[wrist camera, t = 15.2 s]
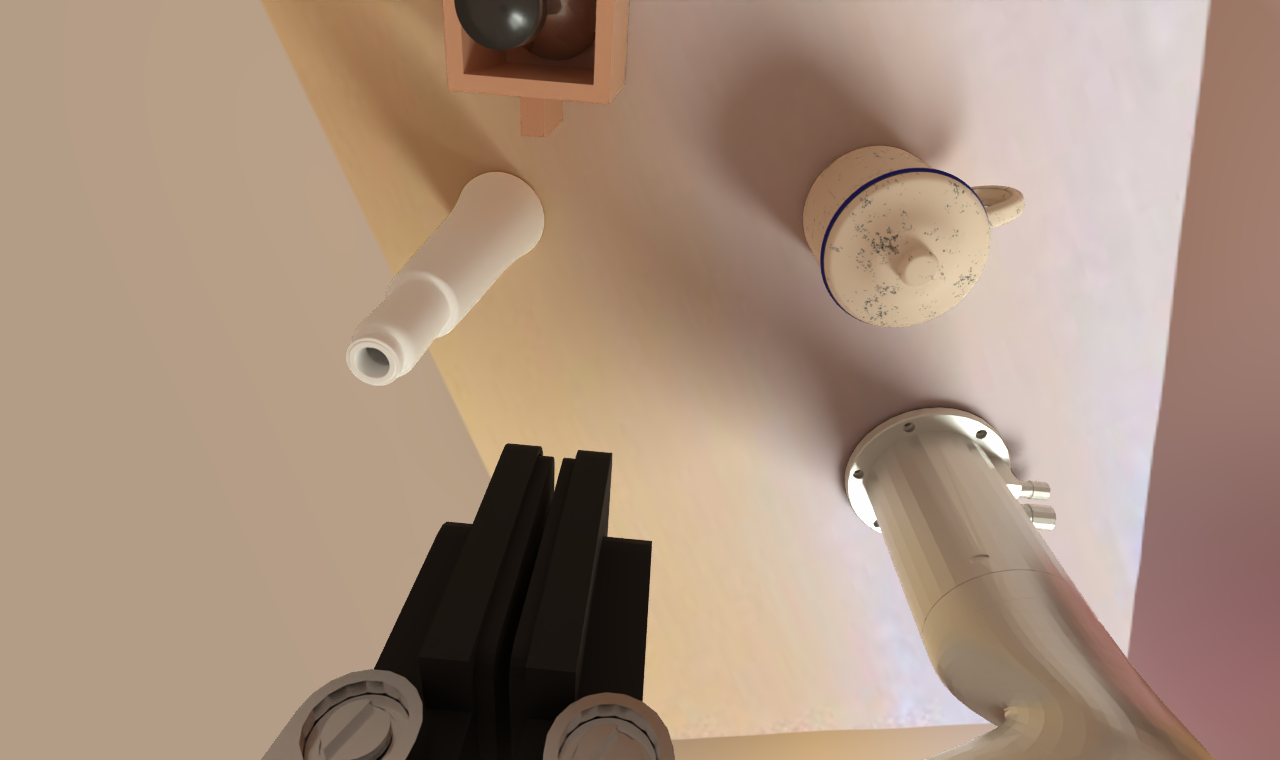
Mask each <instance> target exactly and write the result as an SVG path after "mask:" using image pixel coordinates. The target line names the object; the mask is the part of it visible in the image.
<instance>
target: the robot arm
mask: <svg viewBox="0 0 1280 760" xmlns="http://www.w3.org/2000/svg"><path fill="white" fill-rule="evenodd" d="M611 470H612V453H605V452H594V451H584V450H578V452H577V455H576V459H571V458H564V459H563V461H562V465H561V469H560V473H559V476H558V480H557V484H556V487H555V491H554V457H550V456H543V451H542V447H541V446H530V445H519V444H506V445H505V447H504V449H503V451H502V454H501V456H500V459H499V461H498V464H497V466H496V468H495V471H494V473H493V476H492V478H491V481H490V483H489V486H488V488H487V490H486V493H485V495H484V498H483V500H482V503H481V505H480V507H479V510H478V512H477V515H476V517H475V520H474V522H473V524H466V523H455V522H446V523H445V524H443V525H442V527H441V529H440V530H439V532H438V534H437V536H436V538H435V540H434V543H433V545H432V547H431V549H430V551H429V553H428V555H427V558H426V559H425V562H424V564H423V566H422V568H421V570H420V572H419V574H418V577H417V579H416V581H415V583H414V585H413V587H412V589H411V591H410V594H409V596H408V598H407V600H406V602H405V604H404V606H403V608H402V610H401V613H400V615H399V617H398V619H397V621H396V623H395V626H394V628H393V630H392V632H391V634H390V636H389V638H388V640H387V642H386V645H385V647H384V649H383V651H382V653H381V655H380V657H379V660H378V662H377V664H376V666H375V668H374V670H373V669H371V670H364V671H358V672H352V673H349V674H346V675H344V676H342V677H339V678H337V679H334V680H332V681H330V682H329V683H327V684H326V685H324V686H323V687H321V688H320V689H319V690H317V691H316V692H314V693H313V694H312V695H311V696H310V697H309V698H308V699H307V700H306V701H305V702H304V703H303V704H302V706H301V707H300V708H299V709H298V710H297V711H296V712H295V714H294V715H293V717H292V718H291V719H290V721H289V722H288V724H287V725H286V726H285V728H284V729H283V730H282V732H281V733H280V734H279V736H278V737H277V739H276V740H275V741H274V743H273V744H272V745H271V747H270V748H269V750H268V751H267V752H266V754H265V755H264V757H263V758H262V759H261V760H675V756H674V749H673V745H672V742H671V738H670V735H669V732H668V729H667V727H666V726H665V724H664V723H663V721H662V720H661V718H660V717H659V716H658V714H657V713H656V712H655V711H654V710H652V709H651V708H650V707H649V706H647V705H646V704H645V703H644V702H642V701H643V684H644V667H645V651H646V634H647V617H648V601H649V584H650V568H651V551H652V541H645V540H635V539H624V538H613V537H607V533H608V517H609V502H610V486H611ZM844 482H845V488H846V494H847V497H848V499H849V502H850V505H851V507H852V509H853V510H854V512H855V514H856V515H857V516H858V517H859V518H860V519H861V520H862V521H863V523H865V524H866V525H867V526H869V527H870V528H871V529H873V530H875V531H877V532H880V533H882V535H883V538H884V540H885V543H886V546H887V548H888V551H889V553H890V556H891V559H892V561H893V564H894V567H895V569H896V572H897V575H898V577H899V580H900V583H901V585H902V588H903V591H904V593H905V596H906V599H907V601H908V604H909V607H910V609H911V612H912V614H913V617H914V620H915V622H916V625H917V628H918V630H919V633H920V636H921V638H922V641H923V644H924V646H925V649H926V651H927V654H928V657H929V659H930V662H931V664H932V666H933V668H934V670H935V672H936V674H937V675H938V677H939V678H940V680H941V681H942V683H943V684H944V685H945V686H946V688H947V689H948V690H949V691H950V692H951V693H952V694H953V695H954V696H955V697H956V698H957V699H958V700H959V701H961V702H962V703H963V704H964V705H966V706H967V707H968V708H969V709H971V710H972V711H974V712H975V713H976V714H978V715H980V716H981V717H983V718H984V719H986V720H988V721H989V722H991V723H993V724H994V725H996V726H998V727H997V728H996V729H994V730H992V731H989V732H987V733H985V734H983V735H981V736H978V737H976V738H975V739H974V740H972V741H969V742H967V743H964V744H961V745H959V746H956V747H954V748H951V749H949V750H946V751H944V752H941V753H938V754H936V755H933V756H931V757H928V758H925V759H923V760H1215V758H1214V757H1213V756H1212V755H1211V754H1210V753H1209V752H1208V751H1207V750H1206V748H1204V746H1203V745H1202V744H1201V743H1200V742H1199V741H1198V740H1197V739H1196V738H1195V736H1194V735H1193V734H1192V733H1191V732H1190V731H1189V730H1188V729H1187V728H1186V727H1185V726H1184V725H1183V724H1182V722H1181V721H1180V720H1179V719H1178V718H1177V717H1176V716H1175V715H1174V714H1173V712H1172V711H1171V710H1170V709H1169V708H1168V707H1167V706H1166V705H1165V704H1164V702H1163V701H1162V700H1161V699H1160V698H1159V697H1158V696H1157V694H1156V693H1155V692H1154V691H1153V690H1152V688H1151V687H1150V686H1149V685H1148V684H1147V682H1146V681H1145V680H1144V679H1143V678H1142V676H1140V674H1139V673H1138V672H1137V671H1136V669H1135V668H1134V667H1133V666H1132V664H1131V663H1130V662H1129V660H1128V659H1127V658H1126V656H1125V655H1124V653H1123V652H1122V651H1121V649H1120V648H1119V647H1118V645H1117V644H1116V643H1115V641H1114V640H1113V639H1112V637H1111V636H1110V634H1109V633H1108V632H1107V630H1106V629H1105V628H1104V626H1103V625H1102V624H1101V622H1100V621H1099V619H1098V618H1097V616H1096V615H1095V613H1094V612H1093V611H1092V609H1091V608H1090V606H1089V605H1088V603H1087V602H1086V600H1085V599H1084V597H1083V596H1082V594H1081V593H1080V592H1079V590H1078V589H1077V587H1076V586H1075V584H1074V583H1073V581H1072V580H1071V579H1070V577H1069V576H1068V574H1067V573H1066V571H1065V570H1064V568H1063V567H1062V565H1061V564H1060V562H1059V561H1058V559H1057V558H1056V556H1055V555H1054V553H1053V552H1052V551H1051V549H1050V548H1049V546H1048V545H1047V543H1046V542H1045V540H1044V539H1043V537H1042V536H1041V534H1040V533H1039V531H1038V530H1048V531H1049V530H1052V529H1053V528H1054V526H1055V523H1056V514H1055V511H1054V509H1053V508H1052V507H1051V506H1046V505H1035V504H1024V505H1023V504H1020V503H1019V502H1018V500H1017V498H1018V497H1024V498H1028V499H1036V500H1047V499H1048V498H1049V496H1050V487H1049V485H1048V484H1047V483H1046V482H1037V481H1019V480H1018V478H1017V477H1014V475H1013V474H1012V472H1011V459H1010V456H1009V452H1008V449H1007V447H1006V445H1005V443H1004V442H1003V440H1002V438H1001V437H1000V436H999V434H998V433H997V432H996V431H995V429H994V428H993V427H992V426H991V425H989V424H988V423H987V422H986V421H984V420H983V419H981V418H979V417H977V416H975V415H973V414H971V413H969V412H965V411H961V410H958V409H952V408H941V407H936V408H923V409H918V410H914V411H909V412H906V413H903V414H900V415H898V416H895V417H893V418H891V419H889V420H887V421H885V422H884V423H882V424H880V425H878V426H877V427H876V428H874V429H873V430H872V431H871V432H870V433H868V434H867V435H866V436H865V437H864V438H863V439H862V440H861V442H860V443H859V444H858V445H857V446H856V448H855V449H854V451H853V453H852V455H851V456H850V458H849V461H848V464H847V467H846V471H845V481H844ZM1037 529H1038V530H1037Z"/></svg>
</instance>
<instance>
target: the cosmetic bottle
mask: <svg viewBox="0 0 1280 760" xmlns="http://www.w3.org/2000/svg"><path fill="white" fill-rule="evenodd" d="M543 229H544V212H543V208H542V205H541V202H540V200H539V198H538V196H537V195H536V193H535V192H534V191H533V189H532V188H531V187H530V186H529V185H528V184H527V183H525V182H524V181H523V180H521V179H519V178H518V177H516V176H513V175H511V174H508V173H503V172H488V173H484V174H481V175H479V176H477V177H475V178H473V179H472V180H471V181H470V182H469V183H467V185H466V186H465V187H464V188H463V190H462V192H461V194H460V196H459V199H458V201H457V203H456V205H455V207H454V208H453V210H452V211H451V213H450V214H449V215H448V217H447V218H446V219H445V220H444V222H443V223H442V224H441V225H440V226H439V227H438V228H437V230H436V231H435V232H434V233H433V234H432V235H431V236H430V237H429V238H428V240H427V241H426V242H425V243H424V244H423V245H422V246H421V247H420V248H419V249H418V250H417V252H416V253H415V254H414V255H413V256H412V257H411V258H410V260H409V261H408V262H407V263H406V264H405V265H404V267H403V268H402V269H401V270H400V271H399V273H398V274H397V275H396V276H395V277H394V279H393V280H392V281H391V283H390V284H389V286H388V289H387V292H386V299H385V300H384V302H382V303H381V304H380V305H379V307H377V308H376V309H375V310H374V311H373V312H372V313H371V314H370V315H369V316H368V317H367V318H366V319H365V320H364V321H363V322H362V323H361V324H360V325H359V326H358V327H357V328H356V330H355V332H354V334H353V336H352V342H351V344H350V345H349V346H348V348H347V351H346V362H347V365H348V367H349V369H350V371H351V372H352V373H353V374H354V375H355V376H356V377H357V378H358V379H360V380H361V381H363V382H365V383H367V384H370V385H375V386H382V385H387V384H389V383H391V382H393V381H394V380H395V379H396V378H397V377H400V376H403V375H404V374H406V373H408V372H409V371H410V370H411V369H412V368H413V367H414V366H415V364H416V363H417V362H418V360H419V359H420V358H421V356H422V355H423V354H424V352H425V351H426V350H427V348H428V347H429V346H430V345H431V343H432V342H433V341H434V339H435V338H439V337H442V336H444V335H446V334H448V333H449V332H450V331H452V330H453V329H454V327H455V326H456V325H457V324H458V323H459V322H460V321H461V320H462V319H463V318H464V317H465V316H466V315H467V313H468V312H469V311H470V310H471V309H472V308H473V307H474V306H475V304H476V303H477V302H478V301H479V300H480V299H481V297H482V296H483V295H484V294H485V293H486V292H487V290H488V289H489V288H490V287H491V286H492V285H493V283H494V282H495V281H496V280H497V279H498V278H499V277H500V275H501V274H502V273H503V272H504V271H505V270H506V269H507V268H508V267H509V266H510V265H511V264H512V263H513V262H514V261H516V260H517V259H518V258H520V257H521V256H523V255H525V254H527V253H528V252H530V251H531V250H532V249H533V248H534V247H535V246H536V245H537V243H538V242H539V240H540V238H541V236H542V233H543Z"/></svg>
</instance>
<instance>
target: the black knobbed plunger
mask: <svg viewBox="0 0 1280 760" xmlns="http://www.w3.org/2000/svg"><path fill="white" fill-rule="evenodd" d="M454 4H455V10H456V14H457V17H458V19H459V22H460V24H461V26H462V27H463V29H464V30H465V32H466V33H467V34H468V35H469V36H470V37H471V38H472V39H473V40H474V41H475V42H477V43H478V44H480V45H482V46H484V47H486V48H489V49H493V50H506V49H511V48H515V47H520V46H523V47H524V48H525V49H526V50H528V51H529V52H530V53H532V54H534V55H535V56H537V57H540V58H542V59H546V60H551V61H562V60H568V59H571V58H574V57H576V56H578V55H580V54H581V53H583V52H584V51H586V50H587V49H588V48H589V47H590V46H591V45H592V44H593V43H594V41H595V34H596V5H597V0H454Z"/></svg>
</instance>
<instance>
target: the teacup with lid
mask: <svg viewBox="0 0 1280 760" xmlns="http://www.w3.org/2000/svg"><path fill="white" fill-rule="evenodd" d="M984 206H988V207H984ZM1023 210H1024V197H1023V194H1022V193H1021V192H1020V191H1018V190H1016V189H1014V188H1010V187H1006V186H993V185H991V186H976V187H970V186H968V185H967V184H966V183H965V182H963V181H962V180H960V179H959V178H957V177H955V176H953V175H951V174H949V173H946V172H944V171H940V170H936V169H934V168H932V167H931V166H929V165H928V164H926V163H924V162H923V161H921V160H920V159H918V158H917V157H915V156H914V155H912V154H910V153H908V152H906V151H904V150H902V149H899V148H895V147H890V146H869V147H863V148H859V149H856V150H854V151H851V152H849V153H847V154H845V155H843V156H841V157H839V158H838V159H836V160H835V161H834V162H832V163H831V164H830V165H829V166H828V167H827V168H826V169H825V170H824V171H823V172H822V173H821V174H820V175H819V176H818V178H817V179H816V181H815V182H814V184H813V185H812V187H811V189H810V191H809V193H808V196H807V199H806V202H805V206H804V212H803V228H804V233H805V237H806V240H807V243H808V245H809V247H810V249H811V251H812V253H813V254H814V256H815V258H816V260H817V262H818V264H819V266H820V268H821V273H822V277H823V281H824V284H825V286H826V288H827V290H828V292H829V294H830V296H831V297H832V299H833V300H834V301H835V302H836V304H837V305H838V306H839V307H840V308H841V309H843V310H844V311H845V312H846V313H848V314H849V315H851V316H852V317H854V318H856V319H858V320H860V321H863V322H866V323H869V324H872V325H877V326H882V327H905V326H911V325H916V324H919V323H923V322H926V321H928V320H931V319H933V318H935V317H937V316H939V315H941V314H943V313H944V312H946V311H947V310H949V309H950V308H952V307H953V306H954V305H956V304H957V303H958V302H959V301H960V300H961V299H962V298H963V297H964V296H965V295H966V294H967V293H968V292H969V291H970V290H971V288H972V287H973V286H974V284H975V283H976V281H977V279H978V278H979V276H980V274H981V272H982V270H983V268H984V266H985V263H986V260H987V257H988V252H989V247H990V228H993V227H997V226H1000V225H1003V224H1005V223H1008V222H1010V221H1012V220H1014V219H1015V218H1017V217H1018V216H1019V215H1020V214H1021V213H1022V212H1023Z"/></svg>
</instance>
